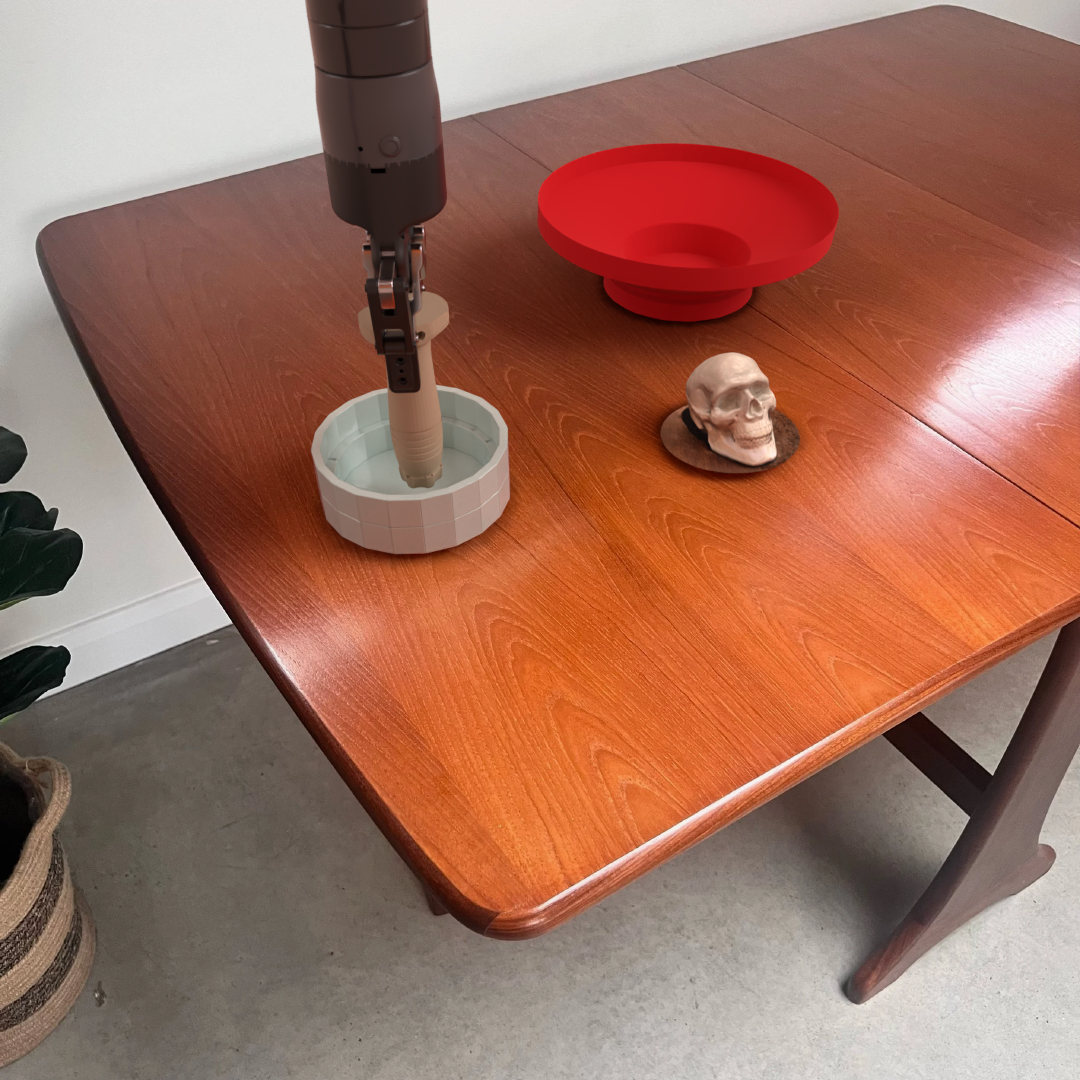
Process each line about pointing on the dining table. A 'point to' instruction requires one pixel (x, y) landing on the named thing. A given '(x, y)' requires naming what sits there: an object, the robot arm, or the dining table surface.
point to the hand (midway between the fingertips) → (408, 366)
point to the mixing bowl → (386, 500)
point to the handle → (417, 400)
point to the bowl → (686, 225)
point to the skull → (730, 419)
